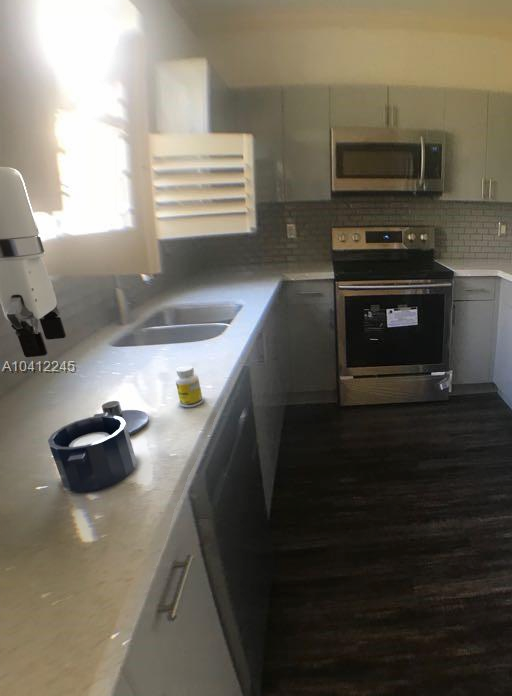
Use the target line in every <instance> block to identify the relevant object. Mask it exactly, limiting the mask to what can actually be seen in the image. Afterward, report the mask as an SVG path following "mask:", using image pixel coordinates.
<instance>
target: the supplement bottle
mask: <svg viewBox="0 0 512 696" xmlns="http://www.w3.org/2000/svg"><path fill="white" fill-rule="evenodd" d="M175 370H176V375H177V376H176V378H175V386H176V390H177V394H178V399H179V404H180V406H181V407H184V408H194V407H197V406H199V405H200V404H202V402H203V401H204V399H203V394H202V389H201V385H200V379H199V375H197V373H195V369H194V366H192V365H182V366H179V367H177V368H176V369H175Z"/></svg>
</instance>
